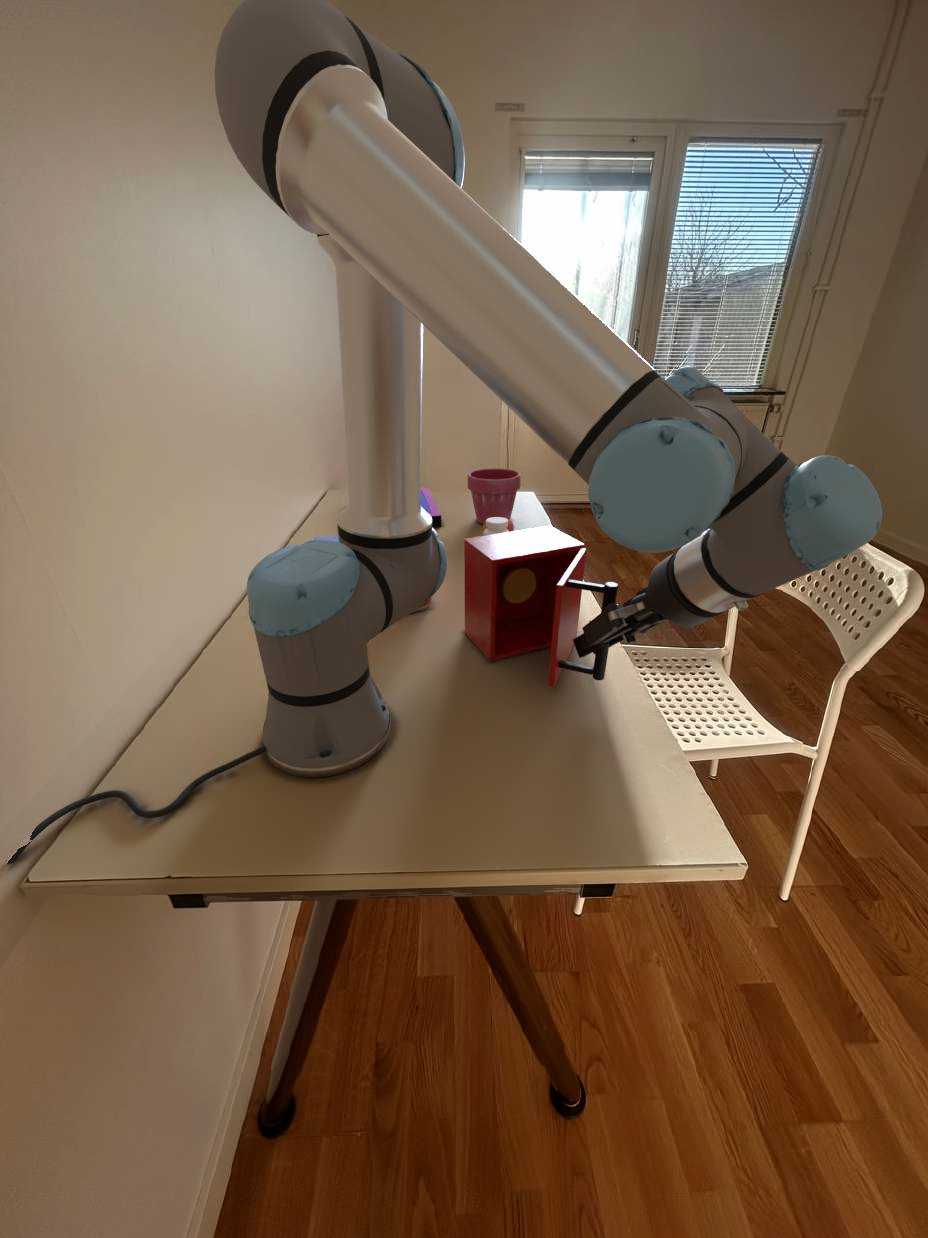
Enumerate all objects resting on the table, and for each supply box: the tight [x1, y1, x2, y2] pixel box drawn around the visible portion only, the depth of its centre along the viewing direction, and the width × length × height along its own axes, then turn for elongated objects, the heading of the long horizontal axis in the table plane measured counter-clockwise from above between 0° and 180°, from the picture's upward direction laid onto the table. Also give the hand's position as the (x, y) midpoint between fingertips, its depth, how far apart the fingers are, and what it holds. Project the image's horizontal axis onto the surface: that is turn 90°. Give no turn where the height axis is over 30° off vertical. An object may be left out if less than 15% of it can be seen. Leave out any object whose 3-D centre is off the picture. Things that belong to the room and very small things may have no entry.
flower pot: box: [467, 467, 522, 525], centre depth 138 cm, size 14×14×13 cm
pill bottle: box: [482, 517, 509, 536], centre depth 111 cm, size 6×6×10 cm
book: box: [420, 487, 442, 528], centre depth 147 cm, size 21×3×30 cm
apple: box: [482, 512, 515, 533], centre depth 121 cm, size 7×7×8 cm
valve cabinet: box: [463, 525, 586, 662], centre depth 81 cm, size 10×15×17 cm, turn 113°
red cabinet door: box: [547, 548, 619, 688], centre depth 72 cm, size 7×14×16 cm, turn 156°
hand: (585, 646), depth 72 cm, fingers closed on red cabinet door, 2 cm apart
